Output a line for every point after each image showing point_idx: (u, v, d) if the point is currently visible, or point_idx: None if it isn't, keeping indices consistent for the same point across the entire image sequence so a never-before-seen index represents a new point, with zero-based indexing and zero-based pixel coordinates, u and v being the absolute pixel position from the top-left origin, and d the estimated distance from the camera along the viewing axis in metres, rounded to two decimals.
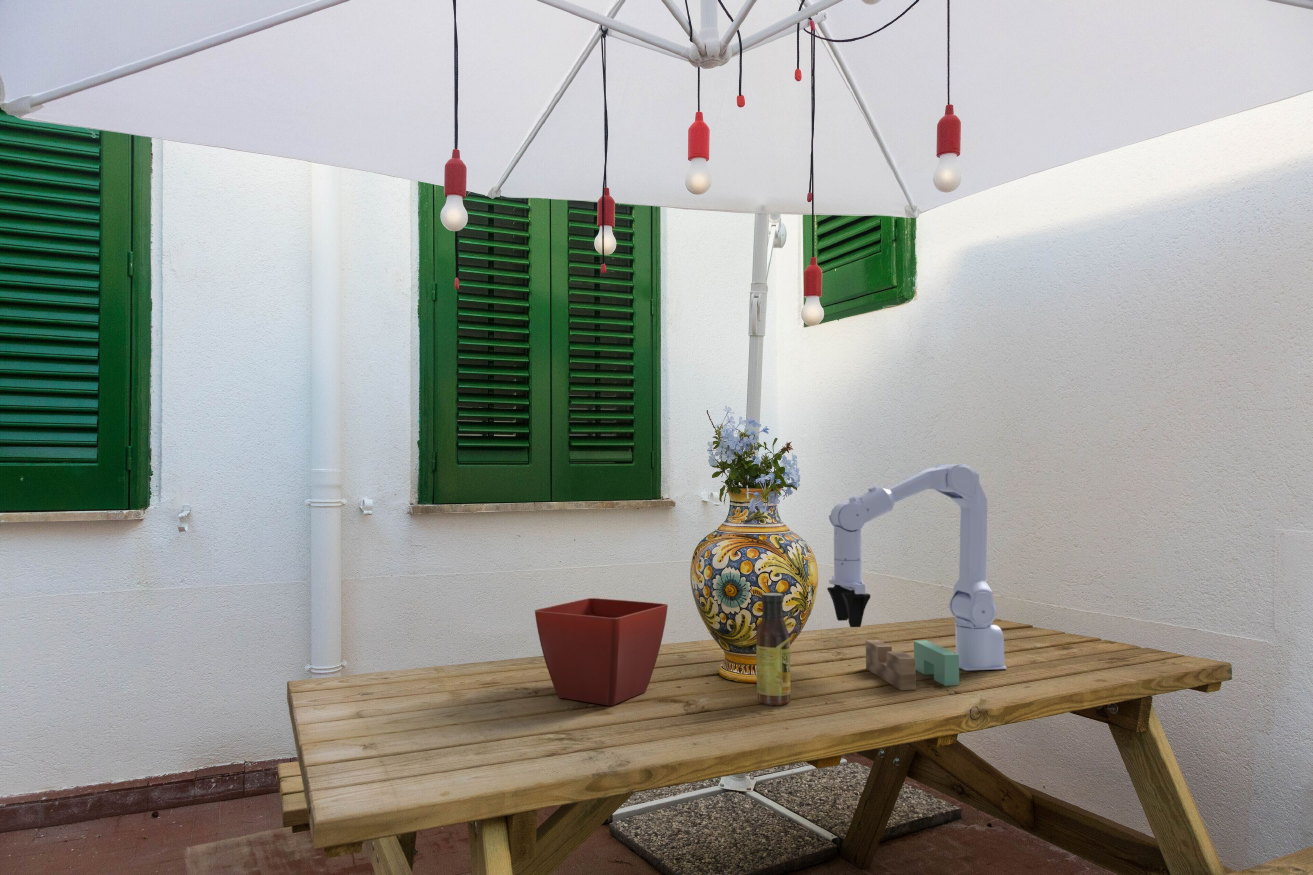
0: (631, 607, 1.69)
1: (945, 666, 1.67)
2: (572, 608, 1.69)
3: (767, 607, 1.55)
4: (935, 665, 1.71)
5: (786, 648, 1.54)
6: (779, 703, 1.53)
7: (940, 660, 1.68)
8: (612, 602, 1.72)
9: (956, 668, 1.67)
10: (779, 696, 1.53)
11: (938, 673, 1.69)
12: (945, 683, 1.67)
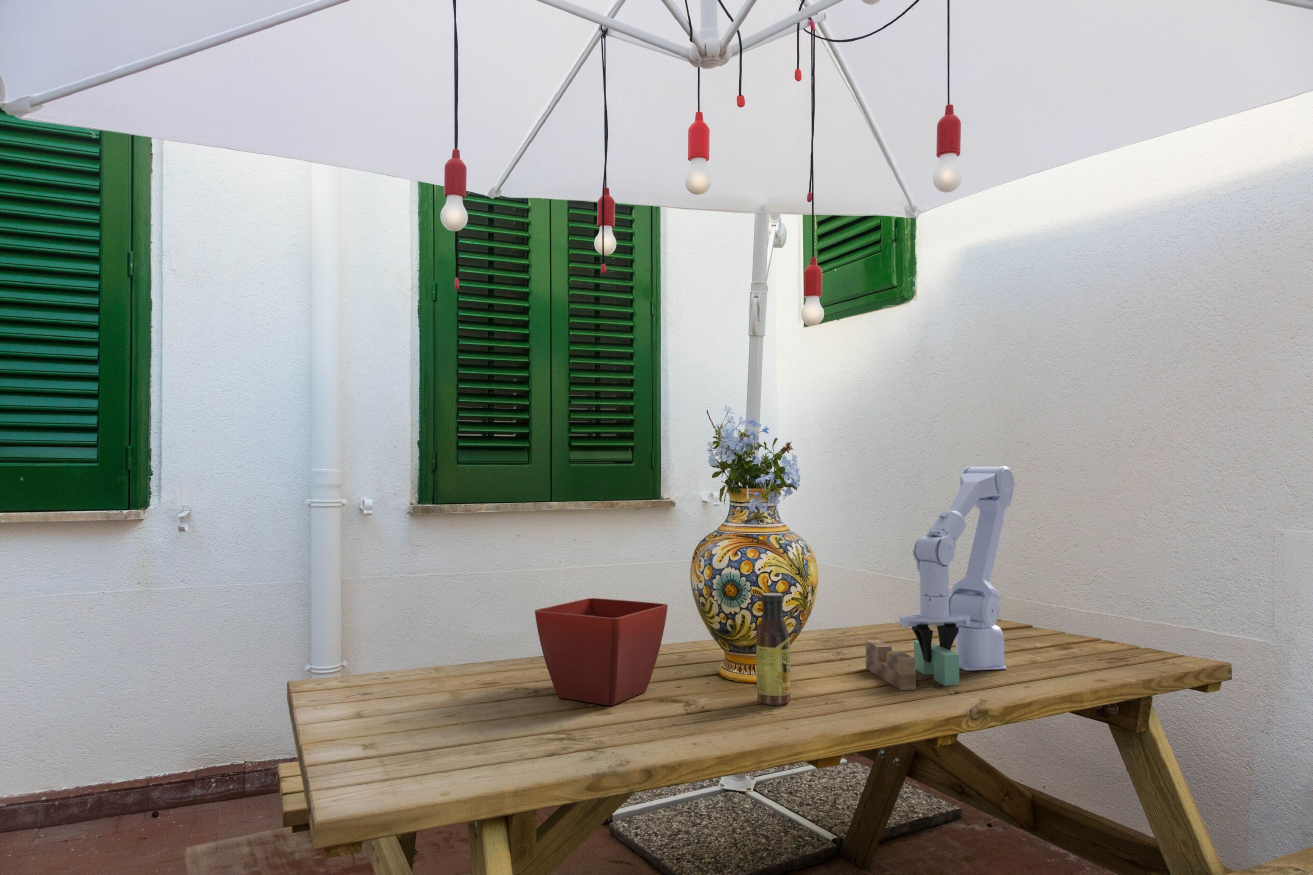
0: (631, 607, 1.69)
1: (945, 666, 1.67)
2: (572, 608, 1.69)
3: (767, 607, 1.55)
4: (935, 665, 1.71)
5: (786, 648, 1.54)
6: (779, 703, 1.53)
7: (940, 660, 1.68)
8: (612, 602, 1.72)
9: (956, 668, 1.67)
10: (779, 696, 1.53)
11: (938, 673, 1.69)
12: (945, 683, 1.67)
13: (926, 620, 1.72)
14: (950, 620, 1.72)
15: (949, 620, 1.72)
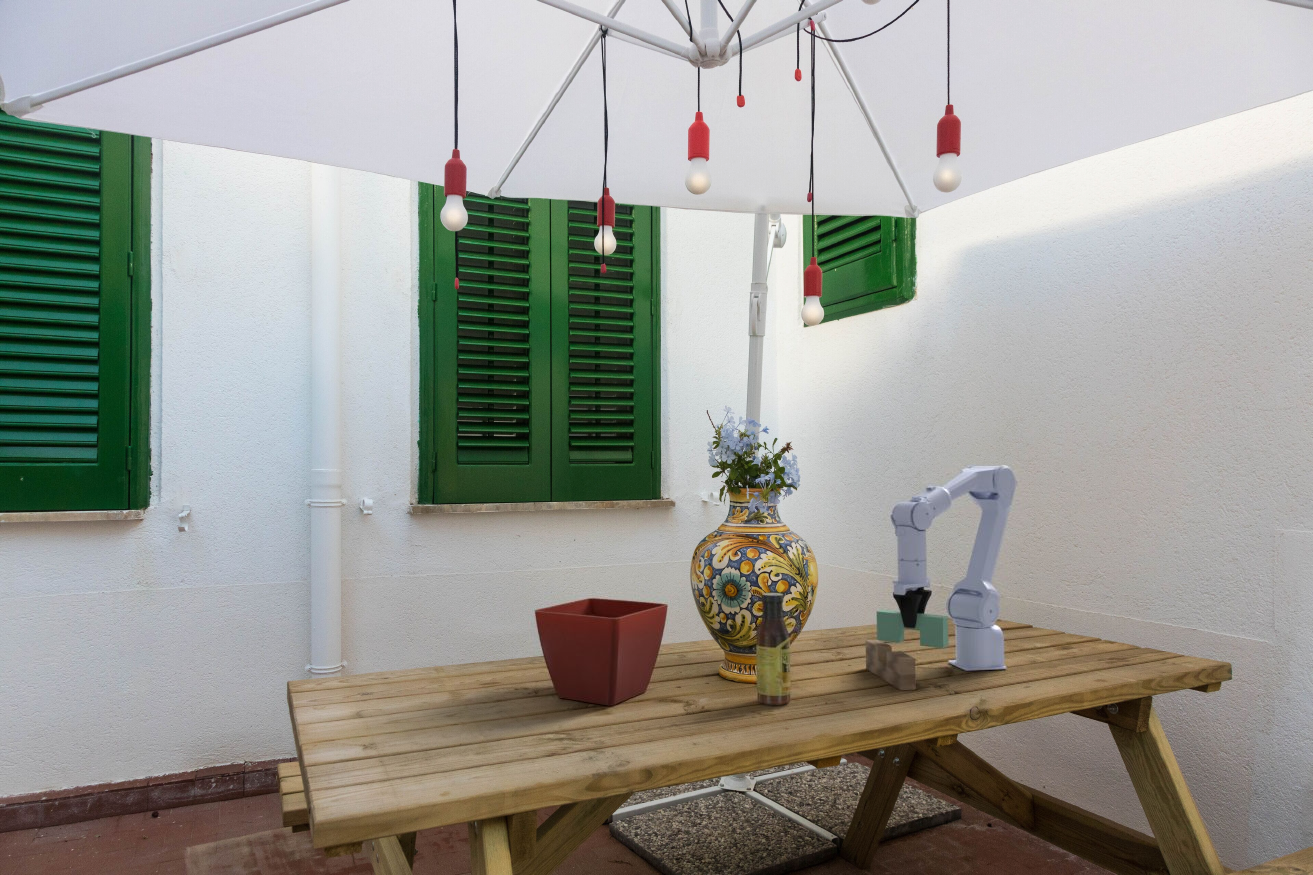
0: (631, 607, 1.69)
1: (943, 629, 1.68)
2: (572, 608, 1.69)
3: (767, 607, 1.55)
4: (923, 630, 1.71)
5: (786, 648, 1.54)
6: (779, 703, 1.53)
7: (935, 624, 1.69)
8: (612, 602, 1.72)
9: (947, 630, 1.70)
10: (779, 696, 1.53)
11: (930, 637, 1.70)
12: (943, 646, 1.68)
13: (917, 585, 1.70)
14: None
15: None
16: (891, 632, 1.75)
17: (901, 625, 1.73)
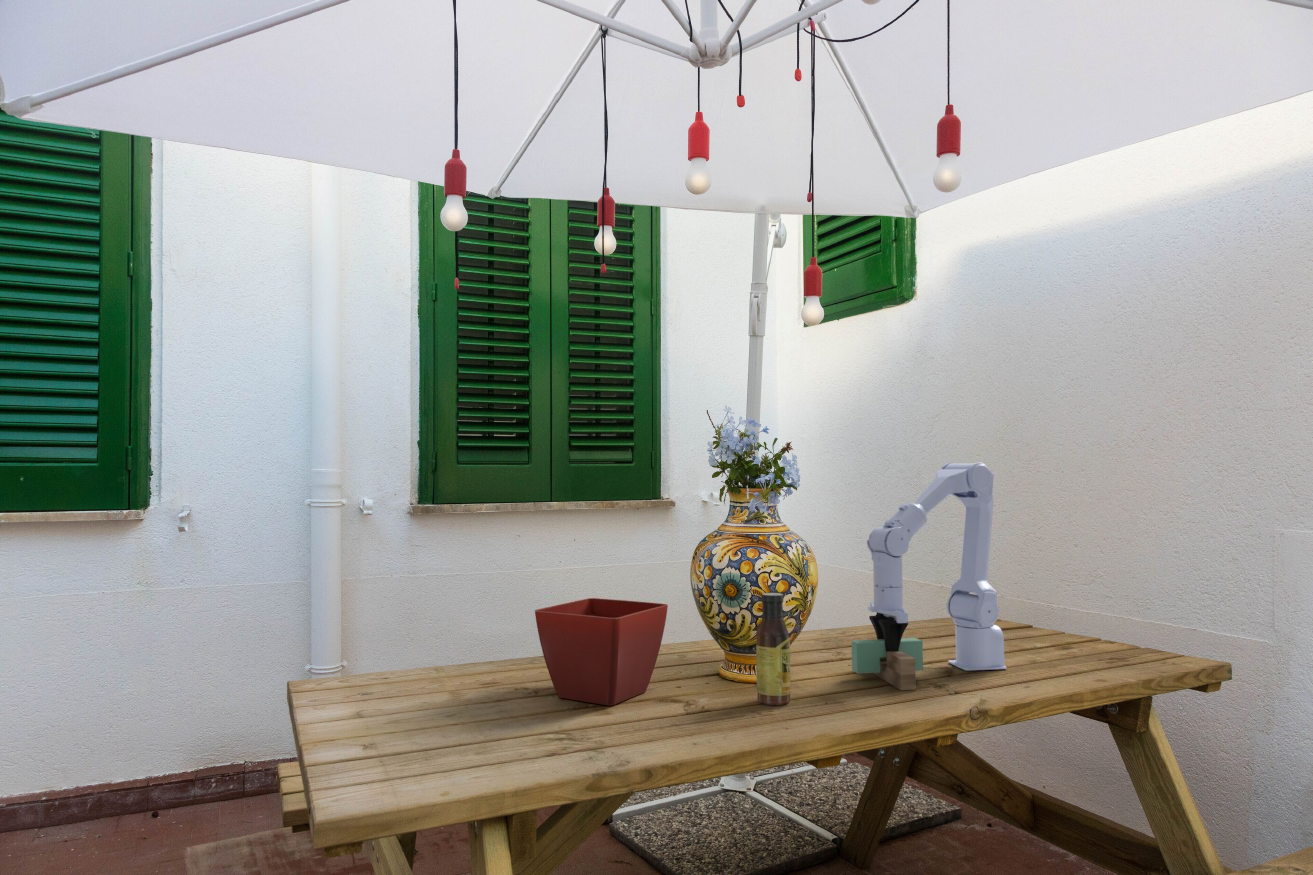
0: (631, 607, 1.69)
1: (922, 652, 1.72)
2: (572, 608, 1.69)
3: (767, 607, 1.55)
4: None
5: (786, 648, 1.54)
6: (779, 703, 1.53)
7: (915, 647, 1.72)
8: (612, 602, 1.72)
9: None
10: (779, 696, 1.53)
11: None
12: None
13: None
14: None
15: None
16: (872, 662, 1.70)
17: (882, 654, 1.71)
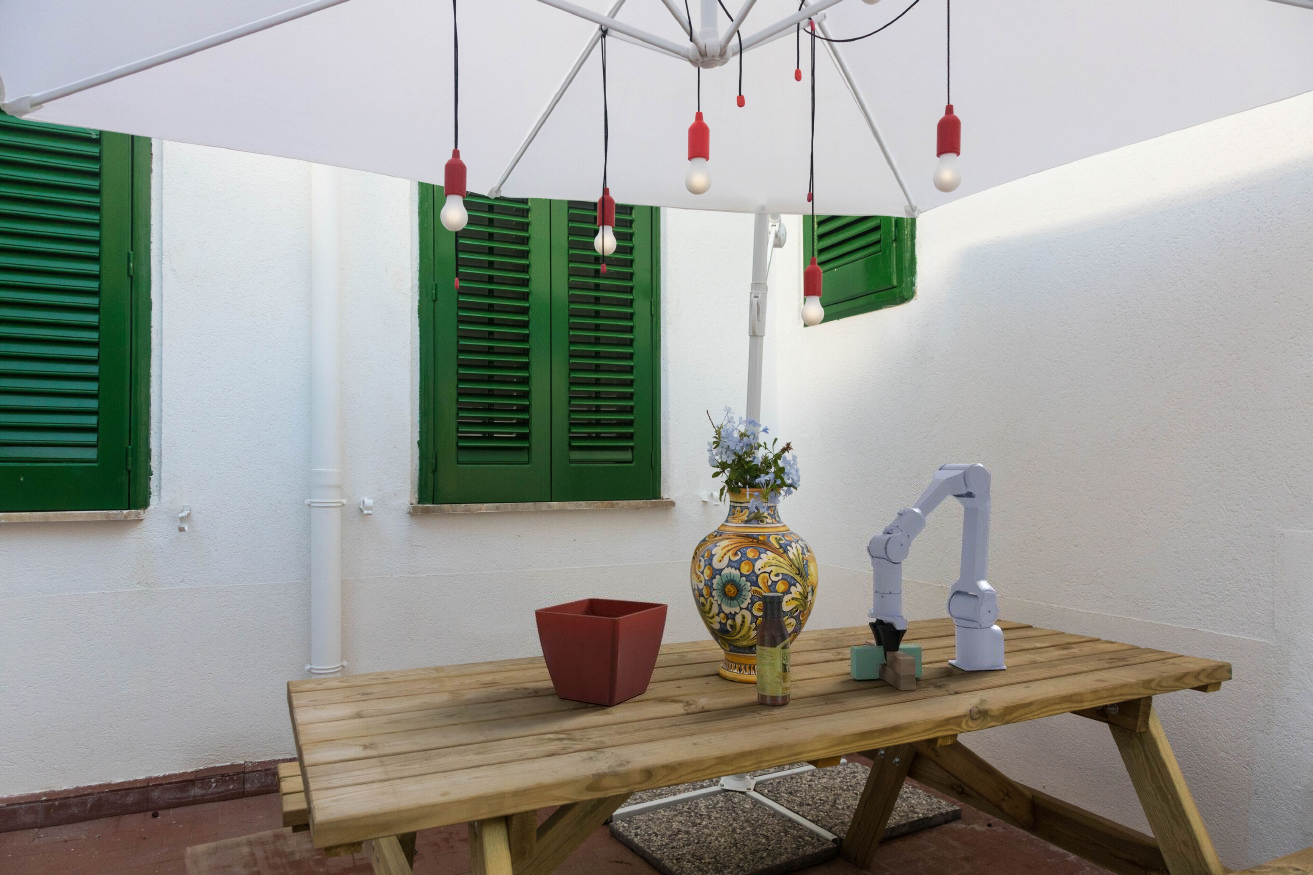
0: (631, 607, 1.69)
1: (921, 658, 1.72)
2: (572, 608, 1.69)
3: (767, 607, 1.56)
4: None
5: (786, 648, 1.54)
6: (779, 703, 1.53)
7: (914, 654, 1.72)
8: (612, 602, 1.72)
9: None
10: (779, 696, 1.53)
11: None
12: None
13: None
14: None
15: None
16: (871, 669, 1.70)
17: (881, 660, 1.71)
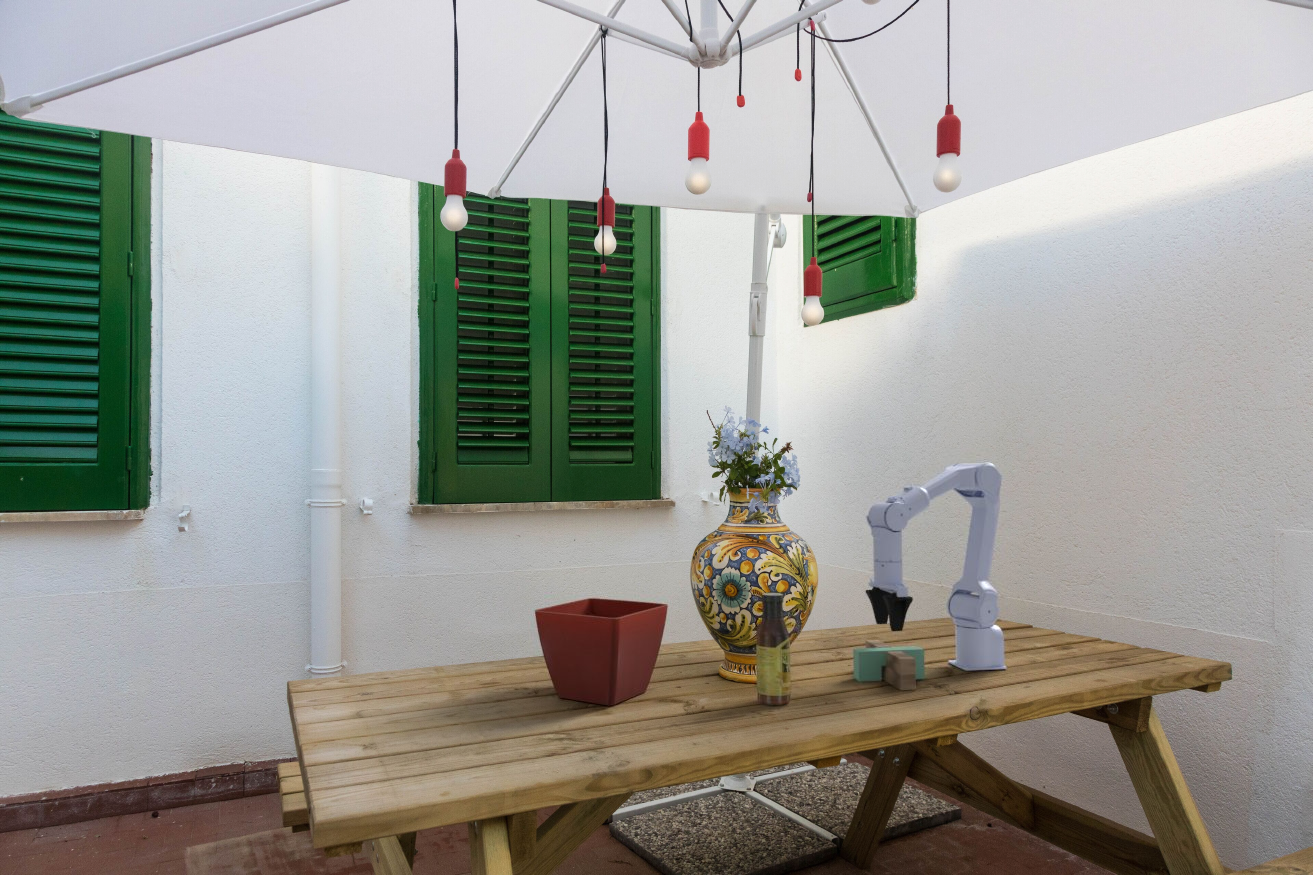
0: (631, 607, 1.69)
1: None
2: (572, 608, 1.69)
3: (767, 607, 1.55)
4: None
5: (786, 648, 1.54)
6: (779, 703, 1.53)
7: (916, 656, 1.72)
8: (612, 602, 1.72)
9: None
10: (779, 696, 1.53)
11: None
12: (924, 676, 1.72)
13: None
14: None
15: None
16: (874, 671, 1.71)
17: (884, 662, 1.71)
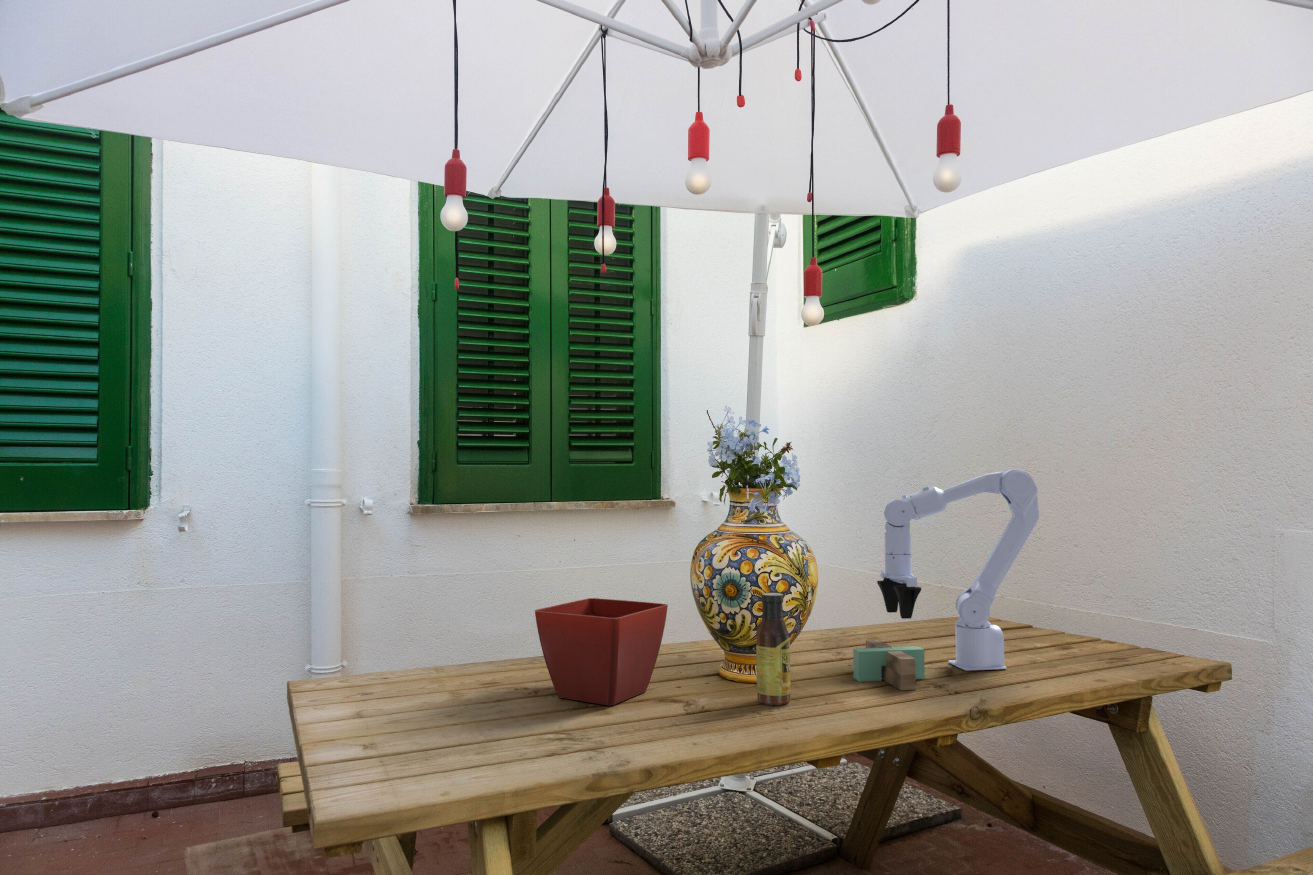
0: (631, 607, 1.69)
1: None
2: (572, 608, 1.69)
3: (767, 607, 1.55)
4: None
5: (786, 648, 1.54)
6: (779, 703, 1.53)
7: (916, 656, 1.72)
8: (612, 602, 1.72)
9: None
10: (779, 696, 1.53)
11: None
12: (924, 676, 1.72)
13: None
14: None
15: None
16: (874, 671, 1.71)
17: (884, 662, 1.71)
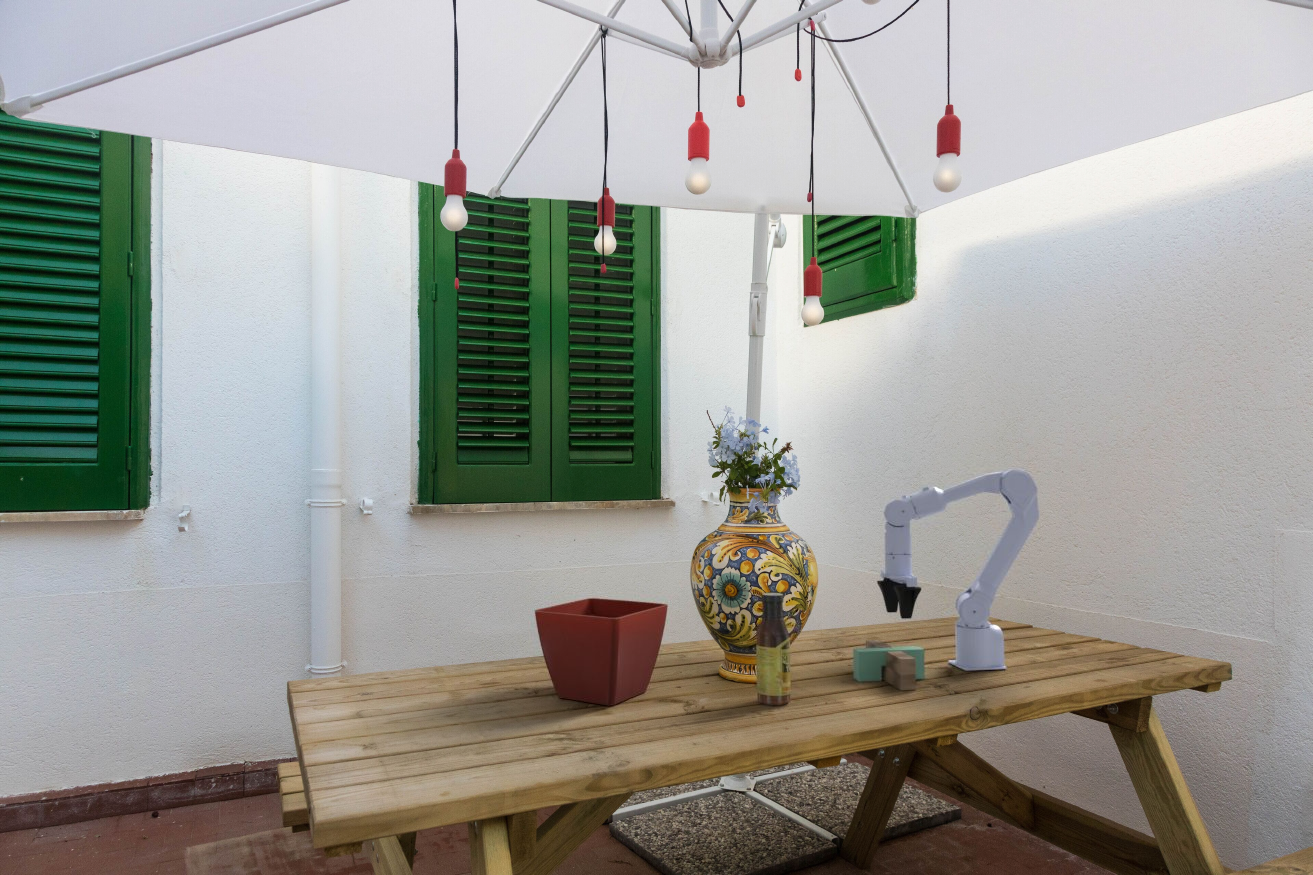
0: (631, 607, 1.69)
1: None
2: (572, 608, 1.69)
3: (767, 607, 1.55)
4: None
5: (786, 648, 1.54)
6: (779, 703, 1.53)
7: (916, 656, 1.72)
8: (612, 602, 1.72)
9: None
10: (779, 696, 1.53)
11: None
12: (924, 676, 1.72)
13: None
14: None
15: None
16: (874, 671, 1.71)
17: (884, 662, 1.71)
